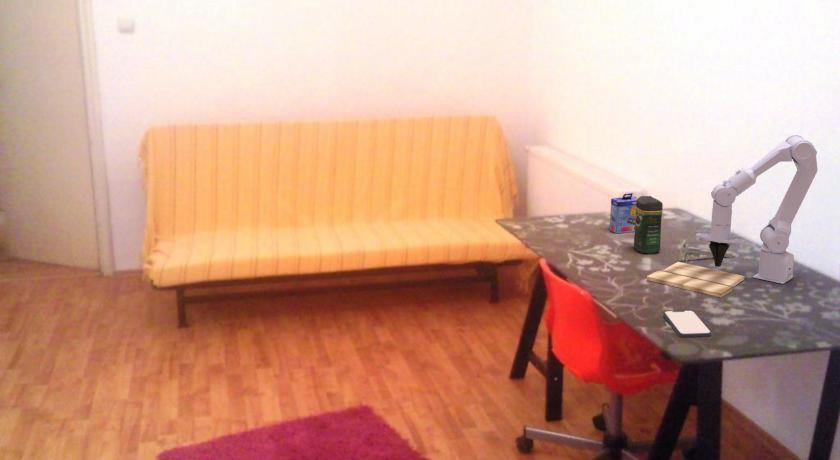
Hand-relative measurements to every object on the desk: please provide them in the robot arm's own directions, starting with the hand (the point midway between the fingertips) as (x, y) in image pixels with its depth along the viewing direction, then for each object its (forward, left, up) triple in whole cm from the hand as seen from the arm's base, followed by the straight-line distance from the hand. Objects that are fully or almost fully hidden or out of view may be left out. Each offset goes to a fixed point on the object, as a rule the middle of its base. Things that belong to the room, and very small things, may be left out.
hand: (718, 265), depth 276 cm
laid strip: (+3, +13, -4) cm, 14 cm away
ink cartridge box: (+48, -26, -4) cm, 55 cm away
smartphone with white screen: (-11, +43, -4) cm, 44 cm away
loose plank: (+3, +4, -3) cm, 6 cm away
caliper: (+10, -14, -4) cm, 18 cm away
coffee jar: (+30, -10, -4) cm, 32 cm away
